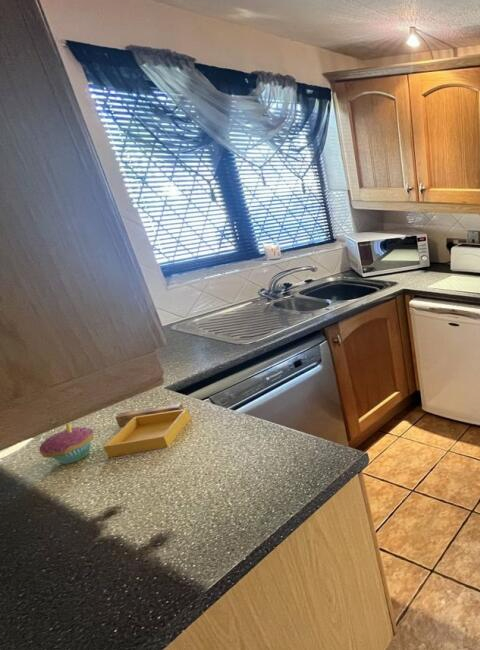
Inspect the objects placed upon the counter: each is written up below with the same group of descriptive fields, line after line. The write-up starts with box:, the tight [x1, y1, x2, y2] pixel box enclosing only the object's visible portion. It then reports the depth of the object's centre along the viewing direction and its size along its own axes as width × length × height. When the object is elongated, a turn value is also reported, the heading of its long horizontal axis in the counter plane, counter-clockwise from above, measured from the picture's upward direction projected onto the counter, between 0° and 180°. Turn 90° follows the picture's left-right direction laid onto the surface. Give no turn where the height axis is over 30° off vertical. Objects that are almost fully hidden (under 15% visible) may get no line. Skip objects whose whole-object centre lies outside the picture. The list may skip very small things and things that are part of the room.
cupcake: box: [38, 423, 94, 465], centre depth 89 cm, size 9×8×12 cm
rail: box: [114, 403, 184, 427], centre depth 104 cm, size 14×2×3 cm, turn 108°
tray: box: [103, 408, 192, 458], centre depth 98 cm, size 12×12×3 cm
